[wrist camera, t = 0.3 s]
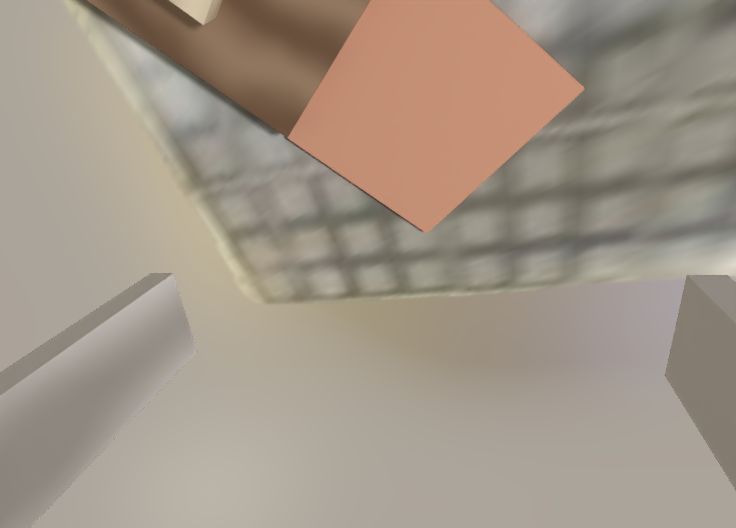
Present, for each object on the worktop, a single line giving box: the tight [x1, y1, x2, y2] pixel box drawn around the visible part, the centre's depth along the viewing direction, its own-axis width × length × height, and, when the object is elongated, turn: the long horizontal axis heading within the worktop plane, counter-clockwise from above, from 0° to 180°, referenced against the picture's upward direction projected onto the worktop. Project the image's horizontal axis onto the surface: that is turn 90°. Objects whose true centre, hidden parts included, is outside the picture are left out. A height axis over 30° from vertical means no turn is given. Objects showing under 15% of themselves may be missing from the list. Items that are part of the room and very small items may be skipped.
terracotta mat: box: [288, 0, 584, 233], centre depth 35 cm, size 18×16×1 cm
